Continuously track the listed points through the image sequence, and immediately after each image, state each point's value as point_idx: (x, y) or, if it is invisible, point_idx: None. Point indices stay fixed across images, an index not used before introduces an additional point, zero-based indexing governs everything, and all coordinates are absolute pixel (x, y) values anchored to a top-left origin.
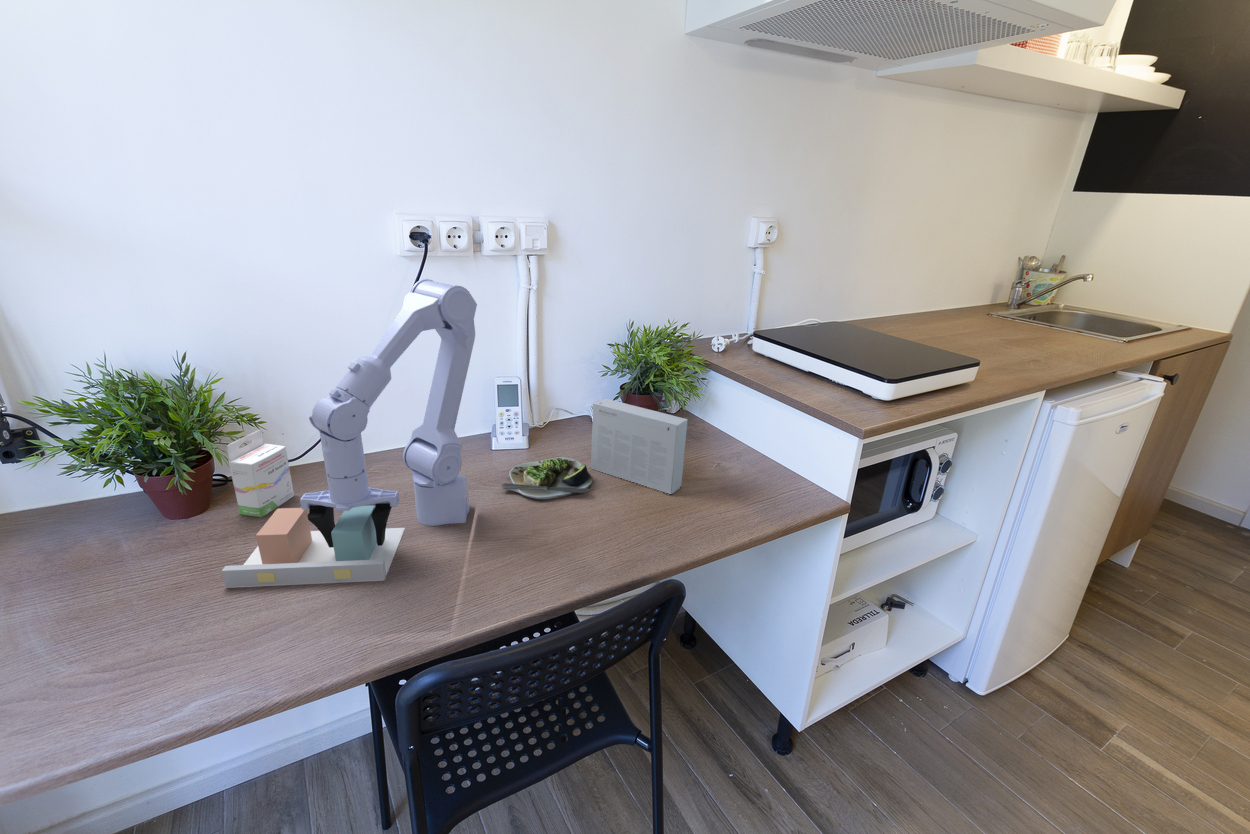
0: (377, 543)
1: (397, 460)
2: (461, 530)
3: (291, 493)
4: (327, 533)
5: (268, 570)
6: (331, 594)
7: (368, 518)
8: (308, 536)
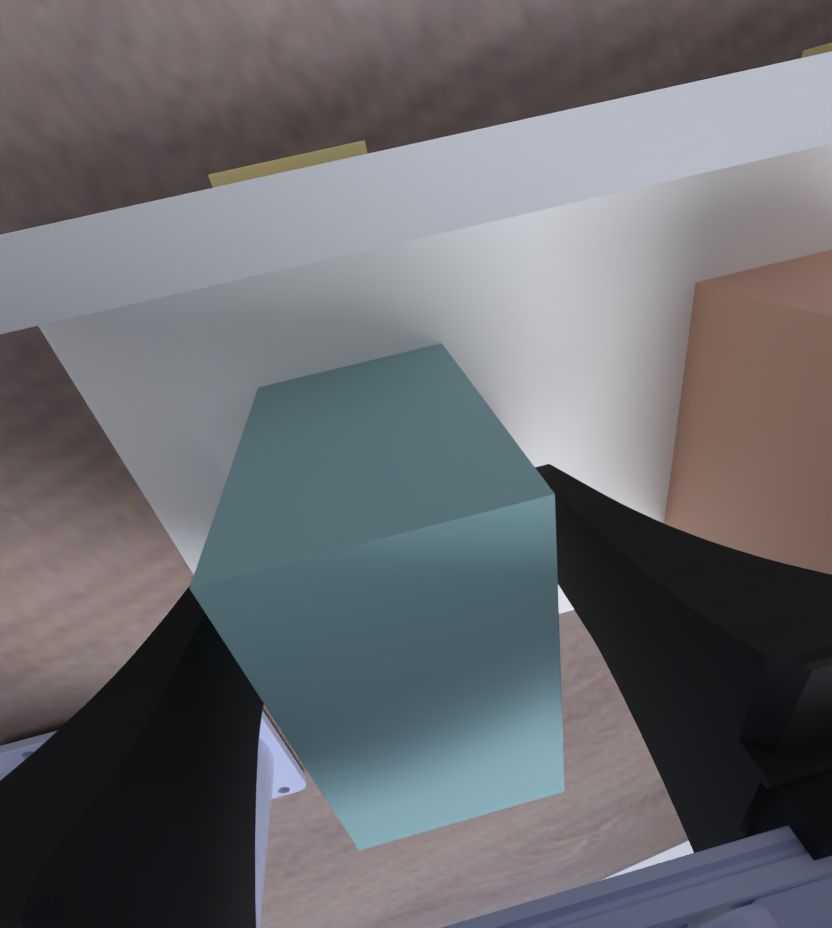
0: None
1: (522, 882)
2: (9, 737)
3: None
4: (601, 527)
5: None
6: (349, 64)
7: (300, 750)
8: (698, 530)
